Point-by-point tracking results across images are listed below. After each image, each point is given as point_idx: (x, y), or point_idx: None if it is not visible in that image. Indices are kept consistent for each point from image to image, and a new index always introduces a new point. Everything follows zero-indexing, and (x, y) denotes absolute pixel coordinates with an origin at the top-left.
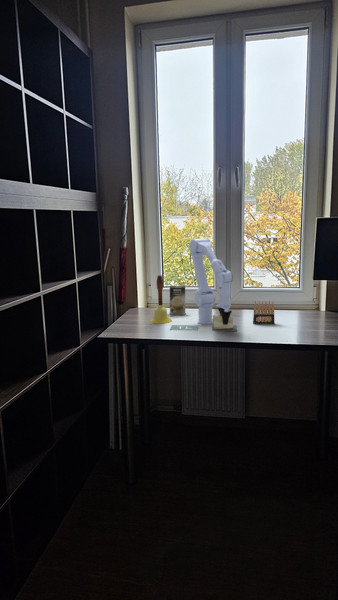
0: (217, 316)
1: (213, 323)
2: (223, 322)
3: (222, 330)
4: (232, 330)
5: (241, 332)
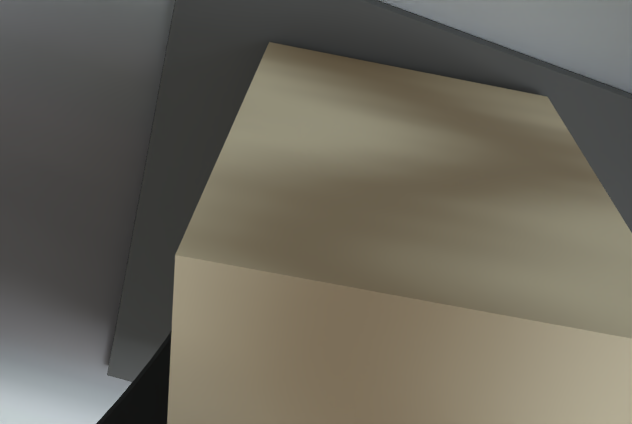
0: (283, 405)
1: (492, 132)
2: (161, 346)
3: (146, 180)
4: (128, 328)
5: (41, 388)
